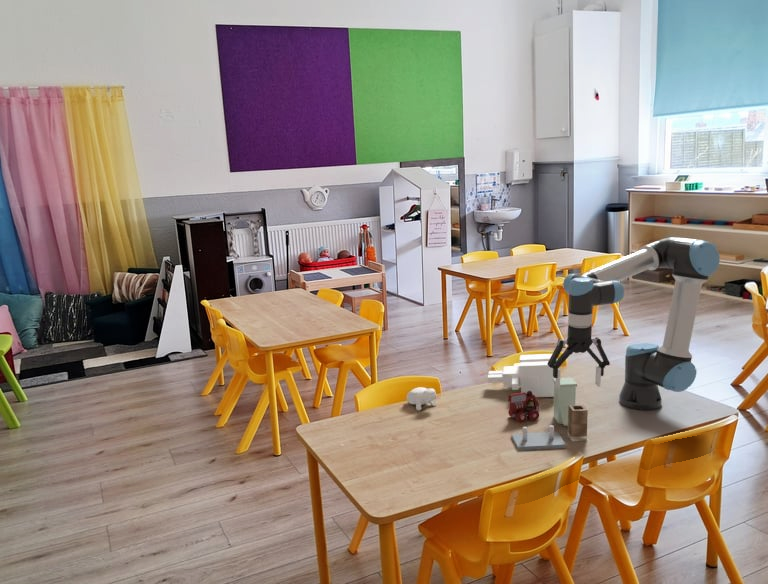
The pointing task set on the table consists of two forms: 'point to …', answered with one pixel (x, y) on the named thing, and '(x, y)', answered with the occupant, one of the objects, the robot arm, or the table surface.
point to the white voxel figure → (527, 375)
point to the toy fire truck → (523, 406)
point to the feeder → (564, 399)
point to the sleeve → (577, 422)
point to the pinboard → (538, 440)
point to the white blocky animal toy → (421, 397)
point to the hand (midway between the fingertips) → (577, 386)
